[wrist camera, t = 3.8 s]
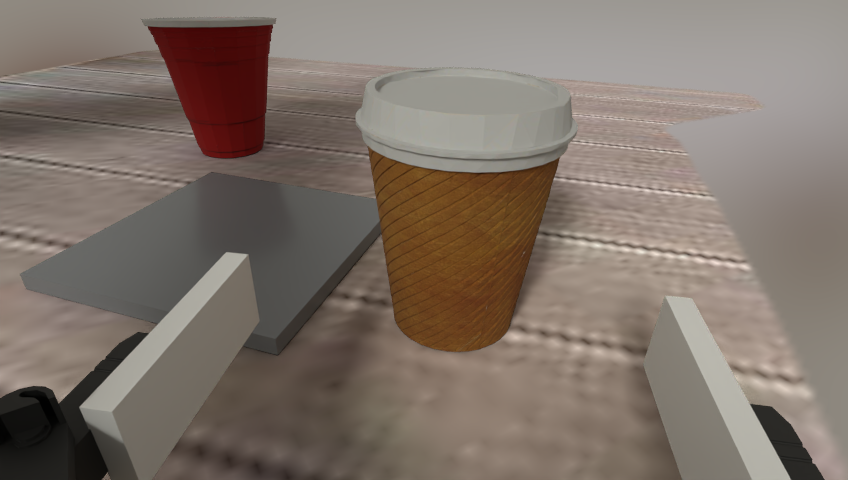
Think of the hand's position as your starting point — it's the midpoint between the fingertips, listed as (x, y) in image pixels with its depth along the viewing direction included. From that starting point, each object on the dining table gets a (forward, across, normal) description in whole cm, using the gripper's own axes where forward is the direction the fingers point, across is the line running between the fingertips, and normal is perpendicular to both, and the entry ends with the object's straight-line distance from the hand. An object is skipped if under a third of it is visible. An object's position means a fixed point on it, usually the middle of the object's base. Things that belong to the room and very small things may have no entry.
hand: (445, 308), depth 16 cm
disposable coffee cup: (+9, 0, -7) cm, 11 cm away
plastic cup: (+31, -24, -7) cm, 40 cm away
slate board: (+13, -15, -7) cm, 21 cm away
